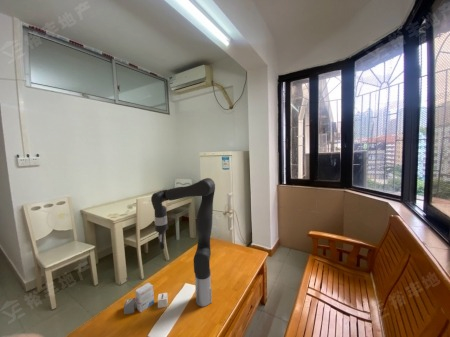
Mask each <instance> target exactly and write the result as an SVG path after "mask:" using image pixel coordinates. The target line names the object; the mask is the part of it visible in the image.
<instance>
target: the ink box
mask: <svg viewBox="0 0 450 337" xmlns="http://www.w3.org/2000/svg"><path fill="white" fill-rule="evenodd" d="M134 294H135V298H136V309H137V310H138V312H139V313H142V312H144V311H146V310H147V309H148V308H149V307H151V306H152V305H154V304H155V297H154V296H155V294H154V285H153V284H152V283H150V282H147V283H145V284H144V285H142V286H140V287H138V288H137V289H135V292H134Z"/></svg>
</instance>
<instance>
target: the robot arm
mask: <svg viewBox="0 0 450 337" xmlns="http://www.w3.org/2000/svg"><path fill="white" fill-rule="evenodd" d="M215 192H216V183H215V181H214V180H213V179H212V178H209V177H206V178H202V179H201V180H199V181H197V182H195V183H192V184H190V185H186V186H185V185H184V186H178V187H173V188H169V189H163V190H159V191H156V192H154V193H153V194H152V195H151V197H150V198H151V199H150V200H151V205H152V207H153V210H154V231H155V232H156V233H158V234H157V237H158V243H159V246H160V250H164V249H165V238H166V231H168V216H167V207H166V206H165V205H163V202H166V201H170V202H171V201H176V200H180V199H184V198H190V197H201V199H200V200H201V201H200V205H199V208H198V211H197V213H196V214H197V215H196V224H195V225H196V227H195V229H196V233H197V245H196V246H197V248H196V251H195V253H194V255H193V271H194V280H195V284H194V285H195V304H197V305H198V307H202V308H203V307H207V306H208V305H210V304H211V303H213V302H212V298H213V297H212V296H213V295H212V284H211V282H212V281H211V279H212V278H211V266H210V261H211V260H210V259H211V256H212V255H211V254H212V252H211V235H212V230H213V210H214V197H215Z"/></svg>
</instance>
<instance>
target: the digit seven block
mask: <svg viewBox="0 0 450 337" xmlns="http://www.w3.org/2000/svg"><path fill="white" fill-rule="evenodd" d="M136 309H137V305H136V297H133V298H128V299H125V303H124V304H123V314H124V315H130V314H134V313H135V310H136Z"/></svg>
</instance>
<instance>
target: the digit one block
mask: <svg viewBox="0 0 450 337" xmlns="http://www.w3.org/2000/svg"><path fill="white" fill-rule="evenodd" d="M168 302H169V300H168V292H163V293H158V296H157V309H161V308H166V307H168Z"/></svg>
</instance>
